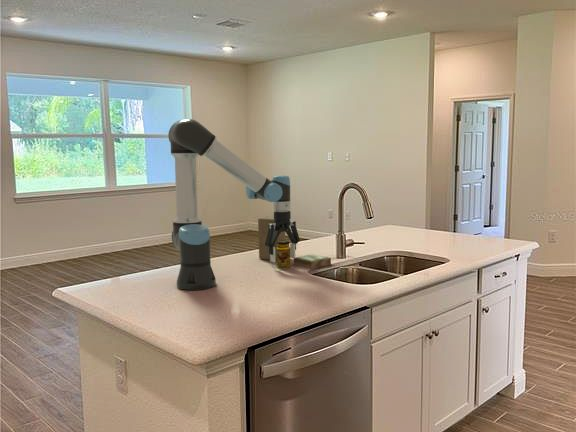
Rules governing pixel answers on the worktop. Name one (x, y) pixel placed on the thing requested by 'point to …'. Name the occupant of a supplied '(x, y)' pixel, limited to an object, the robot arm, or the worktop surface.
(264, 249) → the wooden block
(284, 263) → the condiment
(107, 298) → the worktop surface
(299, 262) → the stand
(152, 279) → the worktop surface
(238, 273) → the worktop surface
